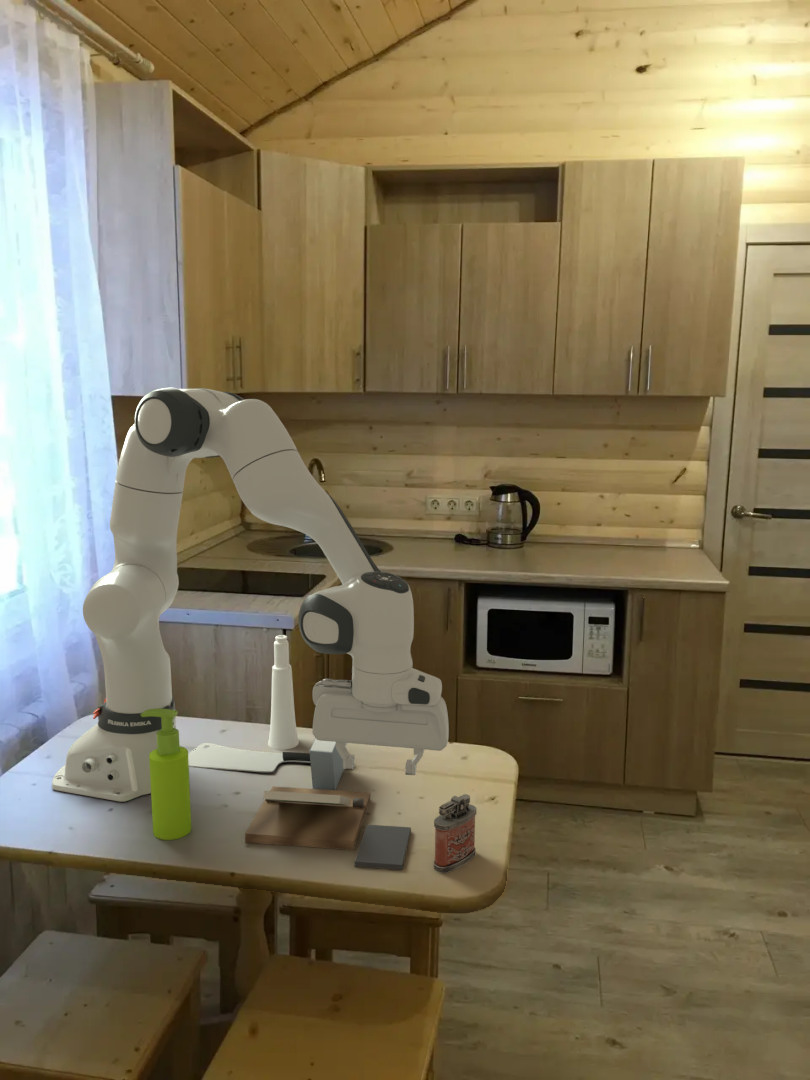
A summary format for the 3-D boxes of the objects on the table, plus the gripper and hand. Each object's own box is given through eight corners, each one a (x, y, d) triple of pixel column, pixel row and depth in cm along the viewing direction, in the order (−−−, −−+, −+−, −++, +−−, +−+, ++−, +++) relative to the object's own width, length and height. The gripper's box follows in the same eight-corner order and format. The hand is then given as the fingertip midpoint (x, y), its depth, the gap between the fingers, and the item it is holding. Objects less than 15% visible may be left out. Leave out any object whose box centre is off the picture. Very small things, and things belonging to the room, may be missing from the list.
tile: (279, 793, 148) (278, 801, 148) (264, 790, 139) (263, 798, 139) (350, 798, 147) (350, 806, 147) (340, 795, 138) (339, 803, 137)
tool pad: (354, 866, 132) (354, 861, 131) (367, 829, 142) (367, 824, 142) (401, 869, 131) (401, 864, 131) (410, 832, 142) (410, 827, 141)
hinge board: (245, 842, 138) (244, 825, 138) (272, 794, 154) (272, 779, 153) (353, 850, 136) (353, 833, 136) (370, 800, 152) (370, 785, 151)
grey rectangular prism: (309, 750, 153) (321, 724, 160) (312, 789, 156) (324, 761, 163) (332, 752, 152) (343, 726, 159) (335, 791, 155) (345, 763, 162)
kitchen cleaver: (175, 760, 164) (200, 738, 174) (176, 769, 165) (201, 746, 174) (337, 775, 157) (354, 751, 166) (337, 784, 157) (354, 759, 167)
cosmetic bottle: (272, 738, 177) (269, 631, 173) (302, 739, 177) (300, 632, 173) (264, 751, 171) (261, 640, 167) (295, 752, 171) (293, 641, 167)
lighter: (463, 846, 137) (464, 786, 135) (480, 854, 135) (482, 793, 133) (428, 867, 132) (428, 804, 130) (445, 876, 129) (446, 812, 127)
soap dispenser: (156, 819, 145) (150, 702, 141) (197, 823, 144) (192, 705, 140) (140, 837, 139) (133, 716, 136) (182, 841, 138) (176, 719, 135)
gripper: (307, 685, 130) (306, 773, 132) (448, 695, 127) (444, 786, 130) (317, 670, 136) (316, 755, 138) (451, 680, 133) (448, 767, 136)
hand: (379, 770), depth 134 cm, fingers open, 8 cm apart
